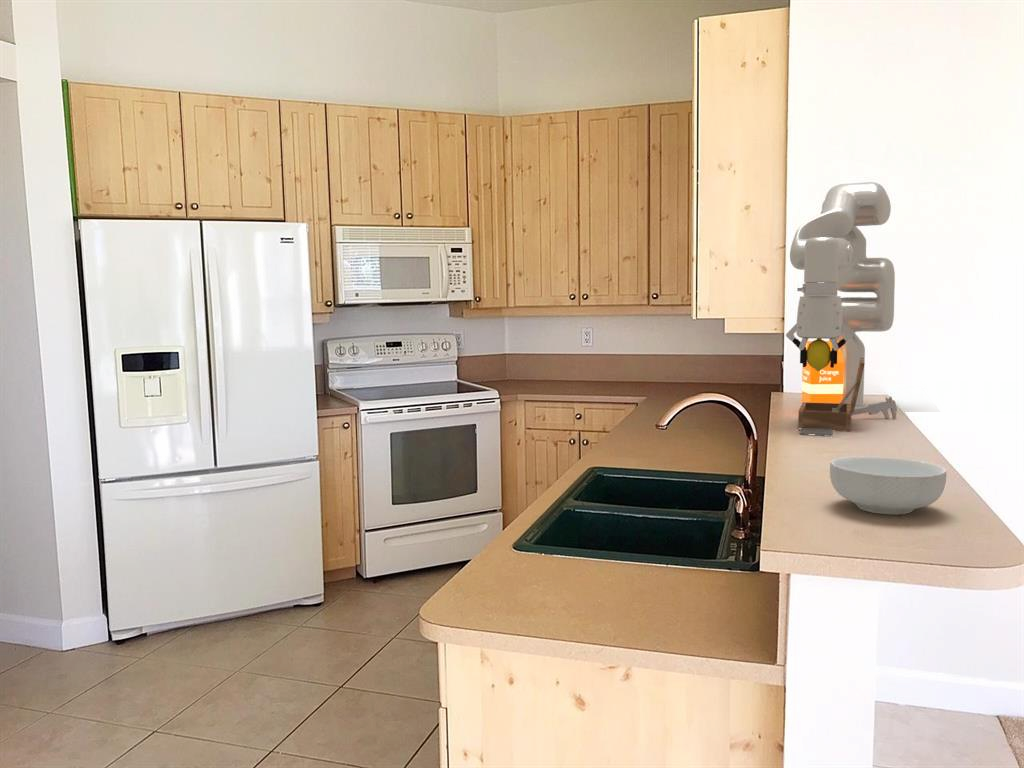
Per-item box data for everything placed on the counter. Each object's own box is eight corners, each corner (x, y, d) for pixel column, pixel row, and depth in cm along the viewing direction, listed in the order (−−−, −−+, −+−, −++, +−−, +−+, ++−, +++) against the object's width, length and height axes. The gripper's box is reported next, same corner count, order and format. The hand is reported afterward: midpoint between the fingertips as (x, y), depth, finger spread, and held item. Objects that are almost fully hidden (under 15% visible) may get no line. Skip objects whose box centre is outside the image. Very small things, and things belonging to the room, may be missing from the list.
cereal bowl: (959, 525, 128) (961, 477, 128) (839, 520, 131) (841, 474, 131) (926, 498, 145) (928, 455, 144) (820, 495, 148) (821, 453, 147)
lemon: (824, 373, 206) (825, 338, 205) (801, 371, 210) (802, 338, 209) (834, 371, 210) (835, 337, 209) (812, 370, 214) (813, 337, 213)
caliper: (894, 419, 233) (895, 396, 232) (896, 420, 231) (897, 396, 231) (816, 420, 234) (816, 396, 233) (817, 420, 232) (817, 396, 232)
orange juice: (842, 415, 239) (844, 341, 237) (809, 415, 239) (811, 342, 237) (832, 411, 247) (834, 340, 245) (800, 411, 247) (802, 340, 245)
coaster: (801, 430, 215) (801, 427, 215) (832, 431, 213) (832, 429, 213) (800, 434, 209) (800, 432, 209) (831, 436, 206) (831, 433, 206)
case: (802, 418, 234) (803, 356, 232) (861, 421, 228) (863, 357, 227) (798, 429, 217) (799, 361, 215) (862, 432, 211) (864, 363, 210)
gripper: (780, 290, 208) (779, 367, 210) (859, 290, 201) (856, 369, 203) (784, 290, 215) (782, 364, 217) (860, 290, 208) (857, 366, 210)
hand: (818, 366), depth 210 cm, fingers closed on lemon, 5 cm apart
